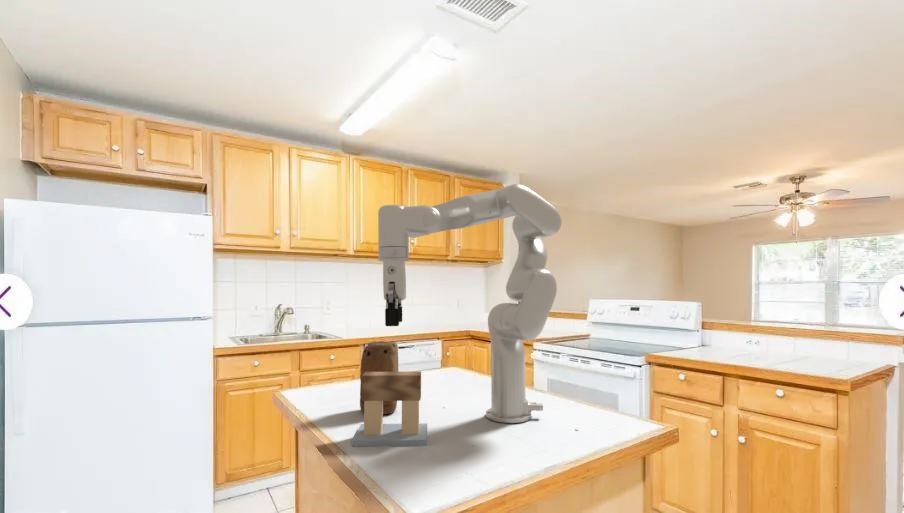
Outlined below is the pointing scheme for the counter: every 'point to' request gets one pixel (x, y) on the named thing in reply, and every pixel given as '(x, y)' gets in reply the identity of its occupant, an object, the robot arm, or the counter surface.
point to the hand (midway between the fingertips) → (394, 323)
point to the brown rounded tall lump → (380, 366)
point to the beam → (391, 386)
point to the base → (390, 427)
